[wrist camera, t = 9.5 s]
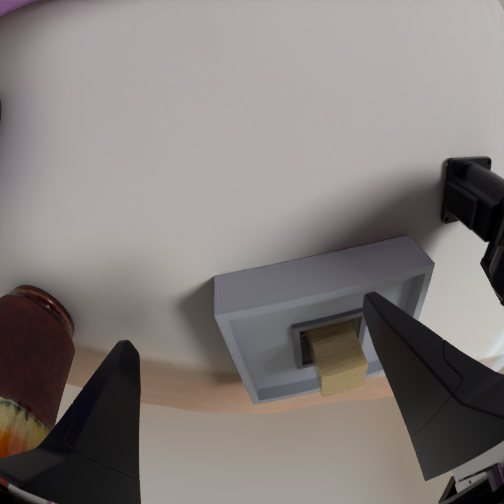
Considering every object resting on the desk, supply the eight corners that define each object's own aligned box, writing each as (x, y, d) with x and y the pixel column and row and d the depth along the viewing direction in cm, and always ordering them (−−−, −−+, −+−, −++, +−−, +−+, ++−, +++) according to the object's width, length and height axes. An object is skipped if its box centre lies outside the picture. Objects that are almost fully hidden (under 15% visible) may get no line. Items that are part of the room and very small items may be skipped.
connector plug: (339, 298, 27) (368, 364, 20) (339, 323, 29) (363, 385, 22) (301, 308, 27) (321, 378, 20) (304, 333, 29) (322, 397, 23)
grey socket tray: (408, 234, 23) (434, 263, 19) (386, 339, 32) (399, 366, 29) (214, 276, 24) (214, 315, 20) (249, 372, 33) (253, 404, 29)
